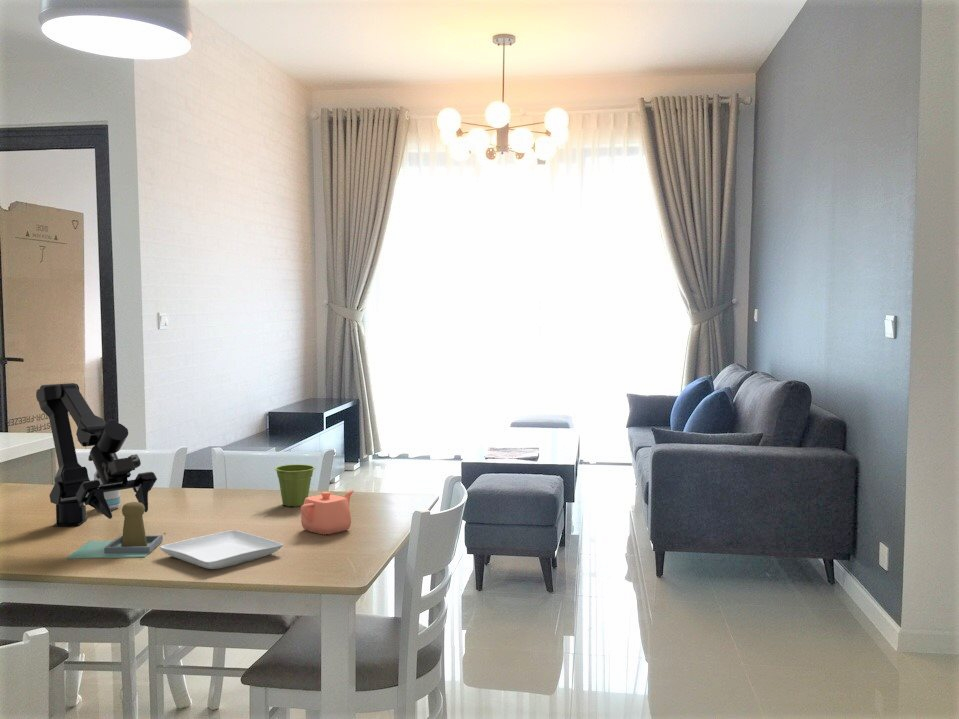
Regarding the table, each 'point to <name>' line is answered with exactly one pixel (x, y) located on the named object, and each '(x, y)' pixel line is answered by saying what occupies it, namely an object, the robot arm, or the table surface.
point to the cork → (133, 525)
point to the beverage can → (110, 496)
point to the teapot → (326, 513)
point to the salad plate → (222, 549)
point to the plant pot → (294, 483)
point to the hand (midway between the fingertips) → (129, 514)
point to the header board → (116, 549)
